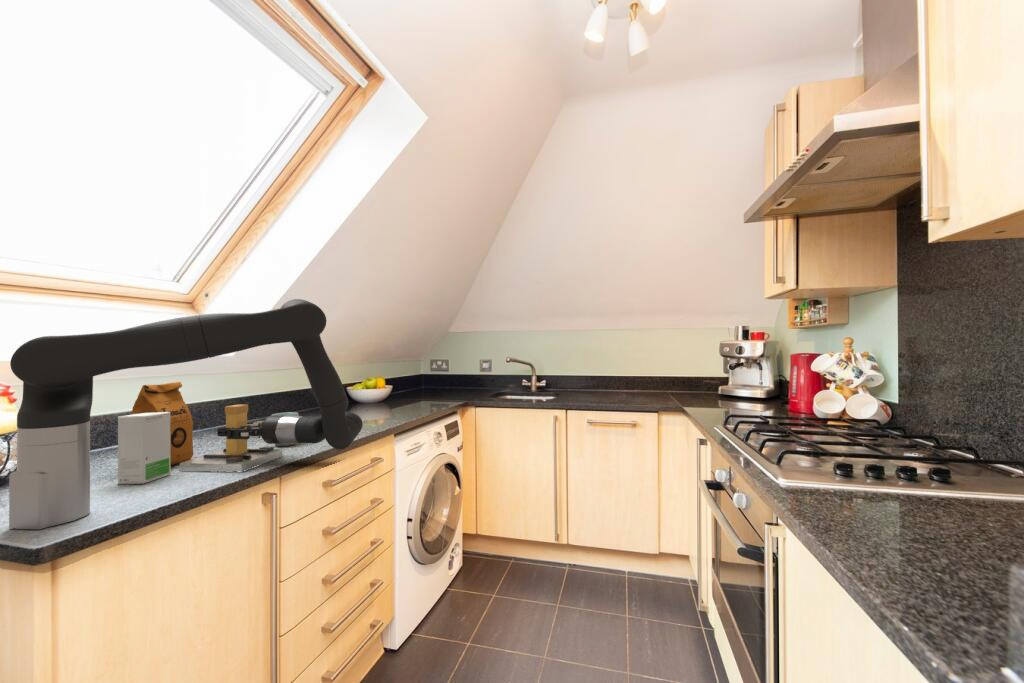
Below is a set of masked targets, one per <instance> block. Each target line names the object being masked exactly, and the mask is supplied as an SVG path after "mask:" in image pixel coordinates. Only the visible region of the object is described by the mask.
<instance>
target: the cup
mask: <svg viewBox="0 0 1024 683" xmlns="http://www.w3.org/2000/svg"><path fill="white" fill-rule="evenodd" d="M272 415H288V416H300V415H299V412H295V411H293V412H292V411H287V412H277V413H273V414H271V415H270V416H272ZM274 445H275V446H276V447H280V446H284V447H290V446H293V445H294V444H274ZM289 445H290V446H289Z"/></svg>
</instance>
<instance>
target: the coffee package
mask: <svg viewBox="0 0 1024 683" xmlns="http://www.w3.org/2000/svg"><path fill="white" fill-rule="evenodd" d="M182 387H183V385H182V382H181V381H177V382H174V381H173V382H169V383H160V384H143V385H142V387H141V388H140V391H139V393H138V395H137V397H136V400H134V401H135V402H134V403H133V406H132V410H131V415H133V414H141V413H157V412H171V413H170V461H171V462H170V465H171V466H175V465H177V464H180V463H182V462H185V461H189V460H192V459H193V456H194V445H193V443H194V441H193V430H194V428H193V425H194V421H193V417H192V416H193V415H192V414H191V411H190V409H189V407H188V405H187V403H186V402H185V400H184V398H183V395H182V393H181V391H179V390H180V388H182Z"/></svg>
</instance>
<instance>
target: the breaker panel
mask: <svg viewBox="0 0 1024 683" xmlns="http://www.w3.org/2000/svg"><path fill="white" fill-rule="evenodd" d="M281 456H282V457H283V449H282V448H275V447H274V446H262V447H258V448H247V452H245V453H242V454H239V455H226V448H223V449H222V450H218V451H215V452H212V453H209V454H203V455H202V456H199V457H196V458H191V460H188V461H184V462H181V463H179V472H198V471H211V472H210V473H228V472H227V471H244V470H247V469H249V468H252V467H254V466H257V465H260V464H262V465H264V464H263V463H265V464H267V463H269V461H270V462H272V461H274V460H273V459H275V460H277V459H279V458H278V457H280V458H282V457H281ZM276 458H277V459H276ZM271 460H272V461H271ZM266 462H267V463H266ZM260 466H261V465H260ZM257 467H258V466H257ZM254 468H255V467H254ZM252 469H253V468H252ZM249 470H250V469H249ZM217 471H218V472H217ZM224 471H225V472H224ZM247 471H248V470H247ZM244 472H245V471H244Z"/></svg>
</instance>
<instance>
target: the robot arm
mask: <svg viewBox="0 0 1024 683" xmlns="http://www.w3.org/2000/svg"><path fill="white" fill-rule="evenodd" d="M326 325H327V317H326V314H325V312H324V311H323V309H322V308H321V307H320V306H318V305H317V304H315V303H313V302H311V301H308V300H306V299H300V298H295V299H294V298H293V299H290V300H288V301H286V302H284V303H283V304H282V305H281V307H280V308H276V309H275V308H274V309H272V310H267V311H261V312H253V313H252V312H251V313H250V312H249V313H245V312H244V313H239V312H238V313H237V312H236V313H235V312H234V313H233V312H232V313H231V312H229V313H228V312H227V313H226V312H225V313H223V312H222V313H221V312H220V313H205V314H203V313H202V314H198V315H197V314H196V315H189V316H183V317H176V318H169V319H165V320H159V321H155V322H151V323H145V324H142V325H137V326H133V327H129V328H125V329H120V330H114V331H108V332H107V331H106V332H97V333H84V334H70V335H69V334H68V335H47V336H46V335H45V336H40V337H35V338H33V339H30V340H28V341H26V342H25V343H23V344H22V345H20V346H19V347H18V348H17V349H16V350H15V351H14V352H13V354H12V356H11V359H10V362H9V363H10V364H9V365H10V369H11V371H12V373H13V374H14V376H15V377H16V378H18V379H19V380H20V381H22V384H23V385H22V400H21V404H20V406H19V409H18V412H17V415H16V470H15V471H13V472H11V473H10V474H9V476H8V477H9V478H8V479H9V480H8V481H9V482H8V483H9V484H8V485H9V487H8V488H9V494H8V496H9V498H8V501H9V502H8V503H9V504H8V505H9V506H8V507H9V508H8V509H9V510H8V516H9V517H8V529H14V528H15V529H18V530H42V529H45V528H49V527H53V526H58V525H62V524H66V523H69V522H73V521H77V520H80V519H82V518H84V517H85V516H88V515H89V514H90V512H91V411H92V406H93V401H94V400H93V399H94V398H93V396H94V394H93V392H94V389H93V388H94V377H96V376H100V375H104V374H108V373H112V372H113V373H114V372H117V371H121V370H129V369H135V368H136V369H137V368H146V367H148V368H149V367H157V366H167V365H168V366H169V365H174V364H183V363H184V364H185V363H189V362H196V361H199V360H200V361H201V360H205V359H209V358H210V359H211V358H214V357H215V358H216V357H219V356H223V355H228V354H231V353H233V354H234V353H237V352H242V351H245V350H250V349H253V348H257V347H260V346H265V345H275V344H283V343H284V344H285V343H291V345H292V346H293V347H294V349H295V351H296V354H297V355H298V356H297V357H298V358H299V359H300V362H301V364H302V366H303V369H304V371H305V374H306V377H307V380H308V383H309V384H310V387H311V391H312V393H313V395H314V398H315V400H316V403H317V405H318V408H319V410H320V416H301V415H299V416H288V415H272V414H271V415H272V416H271V415H270V416H268V417H267V418H265V419H264V420H263V419H262V420H257V421H253V422H251V421H250V422H248V421H247V425H241V426H240V427H231V428H226V427H218V428H217V431H216V432H217V435H216V436H218V437H226V436H227V439H247V440H249V439H250V438H252V439H260V438H262V441H264V442H265V443H266V444H267V445H275V444H293V445H296V444H318V443H321V442H322V441H324V440H326V442H327V444H328V445H329V446H330V447H332V448H333V449H335V450H339V451H340V450H345V449H347V448H349V446H351V445H352V443H353V442H354V440H355V439H356V438H357V436H358V435H359V433H360V432H361V431H362V429H363V426H364V423H363V420H362V418H361V417H360V415H358V414H356V413H354V412H350V411H347V409H348V407H349V399H348V395H347V393H346V390H345V388H344V385H343V382H342V380H341V378H340V376H339V374H338V372H337V370H336V368H335V366H334V364H333V363H332V361H331V359H330V357H329V355H328V354H327V351H326V349H325V346H324V344H323V341H322V338H321V334H322V333H323V332H324V331H325V328H326ZM245 427H247V429H244V428H245Z"/></svg>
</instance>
